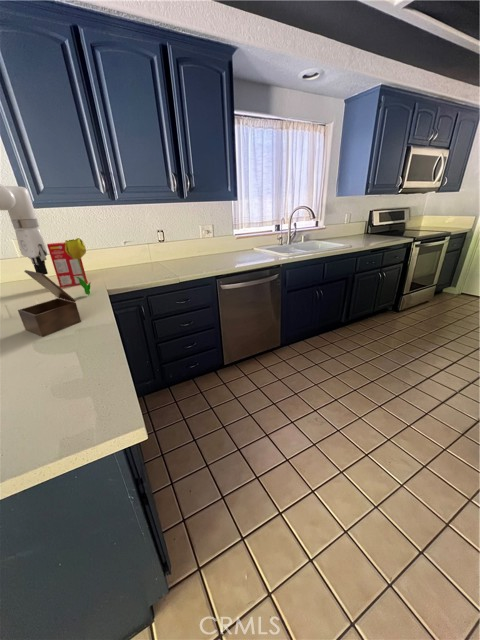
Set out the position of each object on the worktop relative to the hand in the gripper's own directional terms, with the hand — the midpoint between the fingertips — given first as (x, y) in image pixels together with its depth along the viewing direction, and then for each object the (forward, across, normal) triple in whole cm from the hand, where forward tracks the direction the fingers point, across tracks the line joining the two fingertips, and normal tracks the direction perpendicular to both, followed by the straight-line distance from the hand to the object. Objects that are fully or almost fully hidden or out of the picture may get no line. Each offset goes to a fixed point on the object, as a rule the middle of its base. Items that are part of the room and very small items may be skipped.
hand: (42, 274), depth 103 cm
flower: (+22, -24, +29) cm, 43 cm away
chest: (+21, 0, -2) cm, 21 cm away
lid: (+6, 0, +1) cm, 6 cm away
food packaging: (+22, -51, +38) cm, 67 cm away
